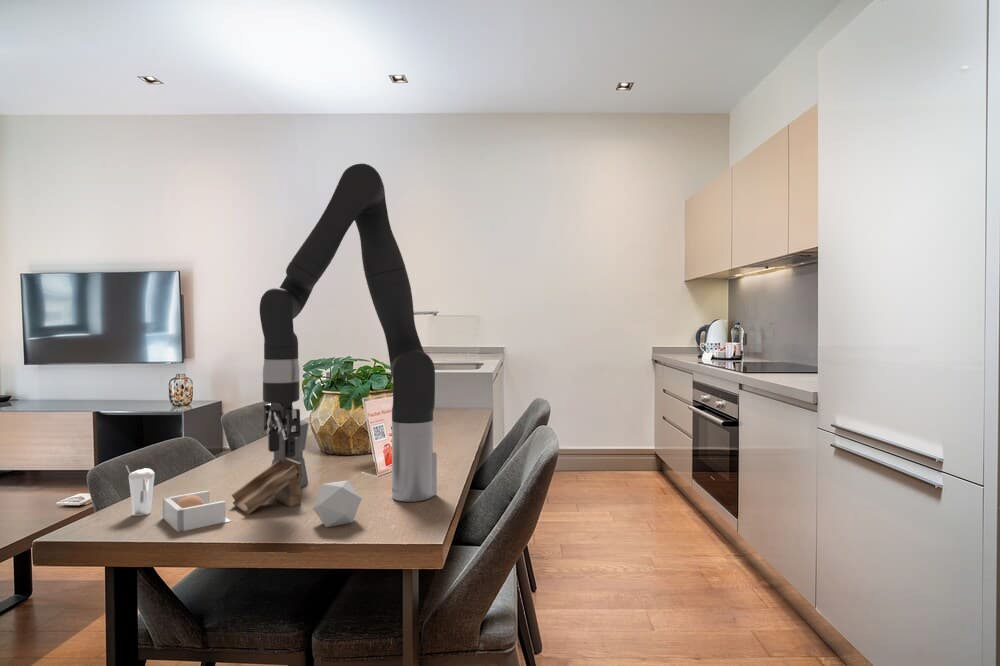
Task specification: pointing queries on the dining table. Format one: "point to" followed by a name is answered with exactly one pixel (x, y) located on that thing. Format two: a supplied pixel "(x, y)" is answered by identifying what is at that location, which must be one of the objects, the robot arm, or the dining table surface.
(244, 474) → the dining table surface
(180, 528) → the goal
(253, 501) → the ramp
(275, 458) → the coffeepot
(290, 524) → the dining table surface
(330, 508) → the die
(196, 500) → the ball
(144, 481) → the milkshake
